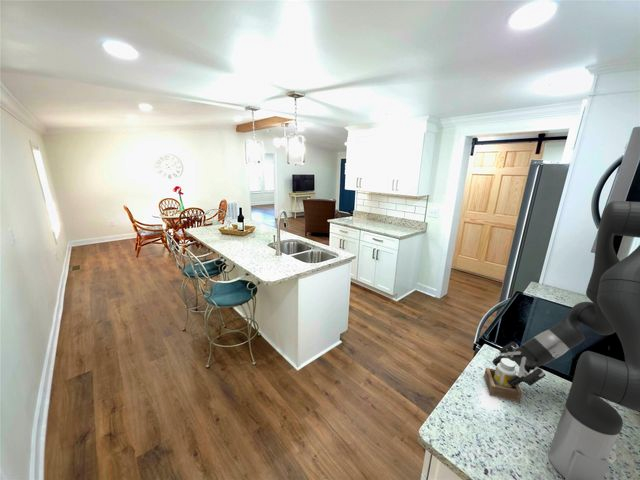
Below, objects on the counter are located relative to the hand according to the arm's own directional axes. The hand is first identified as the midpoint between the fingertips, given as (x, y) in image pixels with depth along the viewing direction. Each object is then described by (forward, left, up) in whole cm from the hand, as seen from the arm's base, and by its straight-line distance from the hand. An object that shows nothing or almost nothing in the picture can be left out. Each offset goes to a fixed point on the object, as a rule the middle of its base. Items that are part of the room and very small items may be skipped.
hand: (501, 373), depth 88 cm
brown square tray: (0, -1, -6) cm, 7 cm away
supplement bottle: (+1, -1, -5) cm, 5 cm away
